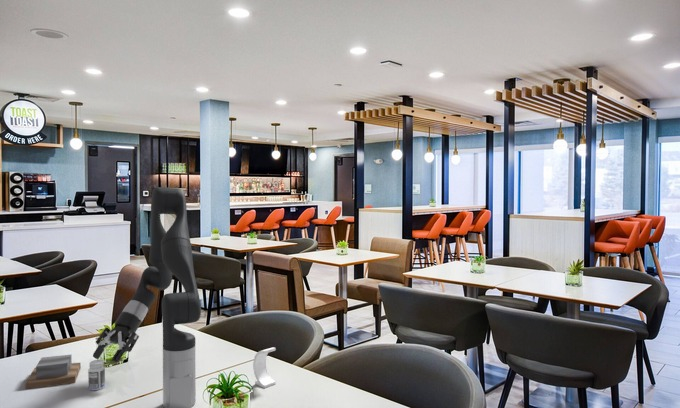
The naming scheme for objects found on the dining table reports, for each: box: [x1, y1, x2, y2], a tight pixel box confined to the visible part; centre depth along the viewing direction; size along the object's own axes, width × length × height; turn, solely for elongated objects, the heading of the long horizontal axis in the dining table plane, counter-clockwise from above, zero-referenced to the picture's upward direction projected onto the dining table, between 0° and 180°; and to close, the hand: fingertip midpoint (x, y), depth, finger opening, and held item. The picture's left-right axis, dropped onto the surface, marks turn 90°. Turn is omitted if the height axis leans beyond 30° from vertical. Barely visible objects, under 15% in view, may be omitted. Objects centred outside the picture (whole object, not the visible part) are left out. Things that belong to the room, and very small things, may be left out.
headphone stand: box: [252, 347, 277, 389], centre depth 159 cm, size 5×6×12 cm
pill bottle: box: [87, 359, 106, 391], centre depth 155 cm, size 5×5×8 cm
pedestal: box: [24, 354, 81, 390], centre depth 163 cm, size 14×14×6 cm
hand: (104, 359), depth 158 cm, fingers open, 8 cm apart
